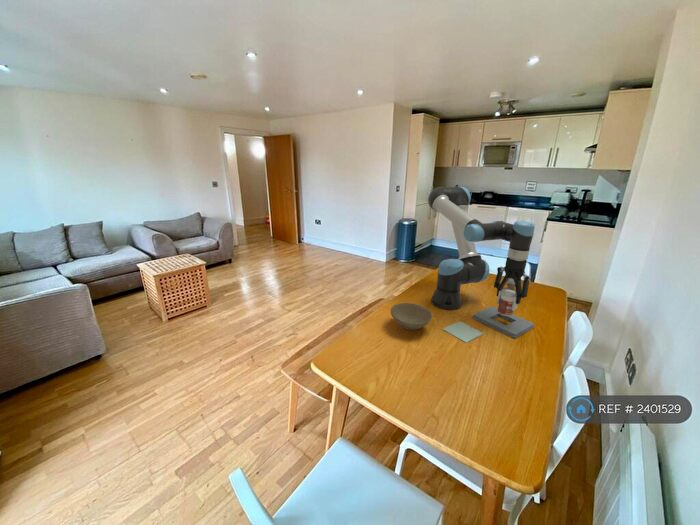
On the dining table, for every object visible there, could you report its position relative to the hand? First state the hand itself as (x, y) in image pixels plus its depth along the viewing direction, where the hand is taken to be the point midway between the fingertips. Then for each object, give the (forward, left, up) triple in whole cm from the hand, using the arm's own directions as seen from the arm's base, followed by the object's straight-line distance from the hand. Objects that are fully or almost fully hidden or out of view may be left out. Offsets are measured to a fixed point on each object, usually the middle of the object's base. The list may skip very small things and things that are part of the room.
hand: (506, 306), depth 126 cm
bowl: (-20, -39, -9) cm, 45 cm away
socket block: (0, 0, -9) cm, 9 cm away
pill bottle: (0, 0, -4) cm, 4 cm away
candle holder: (-16, +35, -9) cm, 39 cm away
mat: (-5, -22, -9) cm, 24 cm away
